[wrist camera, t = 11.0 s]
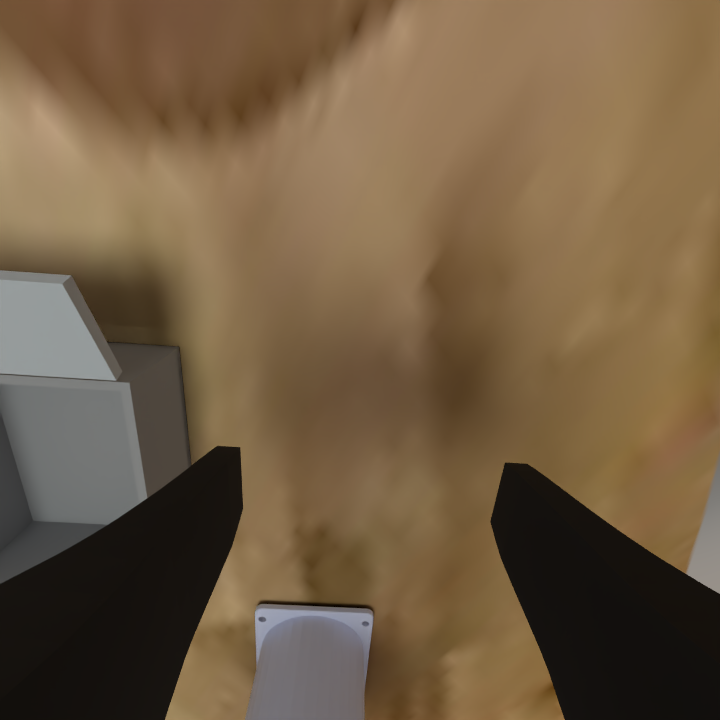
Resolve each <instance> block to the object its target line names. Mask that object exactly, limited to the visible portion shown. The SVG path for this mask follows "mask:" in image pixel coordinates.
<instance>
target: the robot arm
mask: <svg viewBox="0 0 720 720" xmlns="http://www.w3.org/2000/svg"><path fill="white" fill-rule="evenodd" d="M242 510H243V498H242V476H241V455H240V447H226V446H217V447H215V448H214V449H212V450H211V451H210V452H208V453H207V454H206V455H205V456H203V457H202V458H201V459H199V460H198V461H197V462H195V463H194V464H193V465H192V466H190V467H189V468H188V469H186V470H185V471H184V472H182V473H181V474H180V475H178V476H177V477H176V478H174V479H173V480H172V481H170V482H169V483H168V484H166V485H165V486H164V487H162V488H161V489H160V490H158V491H157V492H156V493H154V494H153V495H151V496H150V497H148V498H147V499H145V500H144V501H142V502H141V503H139V504H138V505H137V506H135V507H134V508H132V509H131V510H129V511H128V512H126V513H125V514H123V515H122V516H120V517H119V518H118V519H116V520H114V521H113V522H111V523H110V524H108V525H106V526H105V527H103V528H102V529H100V530H98V531H97V532H95V533H93V534H92V535H90V536H88V537H87V538H85V539H83V540H81V541H80V542H78V543H76V544H75V545H73V546H71V547H69V548H68V549H66V550H64V551H62V552H60V553H59V554H57V555H55V556H53V557H51V558H49V559H47V560H45V561H43V562H41V563H39V564H38V565H36V566H34V567H32V568H30V569H28V570H26V571H24V572H22V573H20V574H18V575H16V576H14V577H12V578H10V579H8V580H6V581H4V582H3V583H1V584H0V720H165V717H166V714H167V711H168V708H169V705H170V702H171V699H172V696H173V693H174V690H175V687H176V684H177V681H178V678H179V675H180V672H181V669H182V666H183V663H184V660H185V657H186V654H187V652H188V649H189V647H190V644H191V641H192V639H193V636H194V634H195V631H196V629H197V627H198V624H199V622H200V620H201V617H202V615H203V613H204V610H205V608H206V606H207V603H208V601H209V599H210V596H211V594H212V592H213V589H214V587H215V585H216V582H217V580H218V578H219V575H220V573H221V571H222V568H223V566H224V564H225V561H226V559H227V557H228V554H229V552H230V549H231V547H232V544H233V541H234V538H235V534H236V531H237V528H238V524H239V521H240V517H241V514H242ZM491 525H492V529H493V532H494V536H495V540H496V543H497V547H498V550H499V553H500V556H501V559H502V562H503V564H504V567H505V569H506V571H507V574H508V576H509V579H510V581H511V583H512V586H513V588H514V590H515V593H516V595H517V597H518V600H519V602H520V604H521V606H522V609H523V611H524V613H525V616H526V618H527V620H528V623H529V625H530V627H531V630H532V632H533V634H534V637H535V639H536V641H537V643H538V646H539V648H540V651H541V653H542V656H543V658H544V661H545V663H546V666H547V668H548V671H549V674H550V677H551V680H552V683H553V686H554V689H555V692H556V695H557V698H558V701H559V704H560V707H561V710H562V713H563V716H564V719H565V720H720V594H719V593H717V592H715V591H713V590H712V589H710V588H708V587H707V586H705V585H703V584H701V583H700V582H698V581H696V580H695V579H693V578H692V577H690V576H688V575H687V574H685V573H683V572H682V571H680V570H678V569H677V568H675V567H673V566H672V565H670V564H668V563H667V562H665V561H664V560H662V559H660V558H659V557H657V556H656V555H654V554H653V553H651V552H650V551H648V550H646V549H645V548H644V547H642V546H641V545H639V544H638V543H636V542H635V541H633V540H632V539H630V538H629V537H627V536H626V535H624V534H623V533H621V532H620V531H619V530H617V529H616V528H614V527H613V526H612V525H610V524H609V523H607V522H606V521H604V520H603V519H602V518H600V517H599V516H598V515H596V514H595V513H593V512H592V511H591V510H589V509H588V508H587V507H585V506H584V505H583V504H581V503H580V502H579V501H577V500H576V499H575V498H573V497H572V496H571V495H569V494H568V493H567V492H565V491H564V490H563V489H561V488H560V487H559V486H557V485H556V484H555V483H553V482H552V481H551V480H549V479H548V478H547V477H545V476H544V475H543V474H541V473H540V472H538V471H537V470H536V469H534V468H533V467H531V466H530V465H528V464H520V463H505V465H504V469H503V473H502V477H501V481H500V485H499V489H498V493H497V497H496V501H495V505H494V509H493V513H492V517H491ZM372 625H373V612H372V610H370V609H366V608H344V607H322V606H300V605H278V604H260V605H258V606H257V607H256V610H255V634H256V661H257V669H256V673H255V678H254V682H253V686H252V691H251V695H250V700H249V704H248V709H247V713H246V718H245V720H365V711H364V691H365V683H366V675H367V667H368V658H369V650H370V642H371V634H372Z"/></svg>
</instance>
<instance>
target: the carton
mask: <svg viewBox="0 0 720 720" xmlns="http://www.w3.org/2000/svg"><path fill="white" fill-rule="evenodd" d="M107 343H108V345H109V347H110V349H111V351H112V353H113V355H114V356H115V358H116V360H117V362H118V364H119V366H120V368H121V370H122V373H121V374H120V376H119V377H118V379H117V381H113V380H97V379H81V378H65V377H49V376H33V375H17V374H1V373H0V584H1V583H3V582H4V581H6V580H8V579H10V578H12V577H14V576H16V575H18V574H20V573H22V572H24V571H26V570H28V569H30V568H32V567H34V566H36V565H38V564H39V563H41V562H43V561H45V560H47V559H49V558H51V557H53V556H55V555H57V554H59V553H60V552H62V551H64V550H66V549H68V548H69V547H71V546H73V545H75V544H76V543H78V542H80V541H81V540H83V539H85V538H87V537H88V536H90V535H92V534H93V533H95V532H97V531H98V530H100V529H102V528H103V527H105V526H106V525H108V524H110V523H111V522H113V521H114V520H116V519H118V518H119V517H120V516H122V515H123V514H125V513H126V512H128V511H129V510H131V509H132V508H134V507H135V506H137V505H138V504H139V503H141V502H142V501H144V500H145V499H147V498H148V497H150V496H151V495H153V494H154V493H156V492H157V491H158V490H160V489H161V488H162V487H164V486H165V485H166V484H168V483H169V482H170V481H172V480H173V479H174V478H176V477H177V476H178V475H180V474H181V473H182V472H184V471H185V470H186V469H188V468H189V467H190V466H191V458H190V449H189V439H188V429H187V419H186V409H185V399H184V389H183V380H182V370H181V360H180V350H179V347H176V346H161V345H145V344H130V343H115V342H107Z"/></svg>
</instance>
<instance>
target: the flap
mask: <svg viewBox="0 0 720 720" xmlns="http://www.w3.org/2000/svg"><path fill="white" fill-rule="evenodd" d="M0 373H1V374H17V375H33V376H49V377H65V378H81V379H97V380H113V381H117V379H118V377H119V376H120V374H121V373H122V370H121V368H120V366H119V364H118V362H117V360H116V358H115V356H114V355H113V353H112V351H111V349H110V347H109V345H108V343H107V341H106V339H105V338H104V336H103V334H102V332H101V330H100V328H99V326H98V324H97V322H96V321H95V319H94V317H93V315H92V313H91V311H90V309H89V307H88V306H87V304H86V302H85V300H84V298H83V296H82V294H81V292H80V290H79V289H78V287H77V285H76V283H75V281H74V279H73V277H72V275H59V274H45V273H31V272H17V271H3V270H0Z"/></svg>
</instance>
